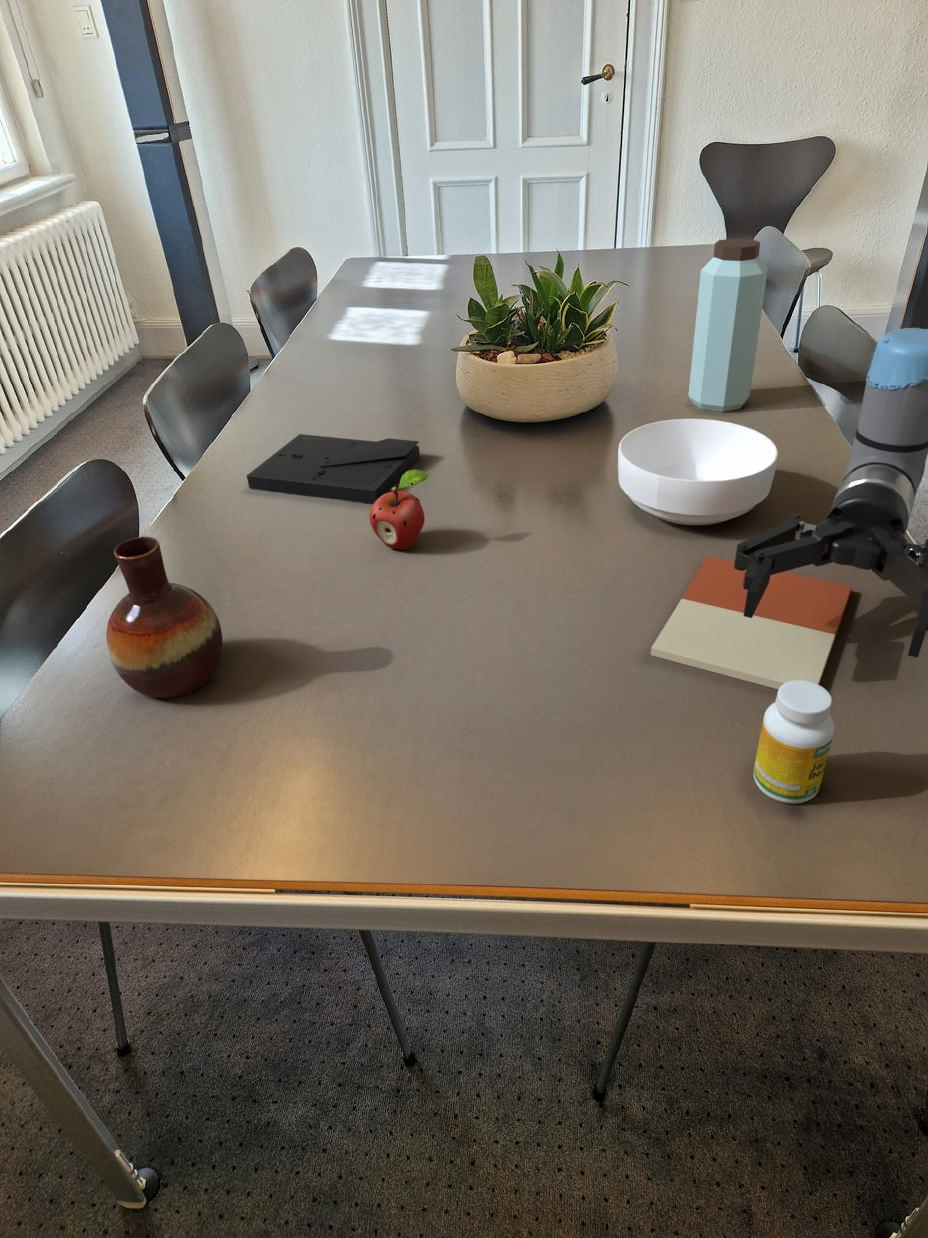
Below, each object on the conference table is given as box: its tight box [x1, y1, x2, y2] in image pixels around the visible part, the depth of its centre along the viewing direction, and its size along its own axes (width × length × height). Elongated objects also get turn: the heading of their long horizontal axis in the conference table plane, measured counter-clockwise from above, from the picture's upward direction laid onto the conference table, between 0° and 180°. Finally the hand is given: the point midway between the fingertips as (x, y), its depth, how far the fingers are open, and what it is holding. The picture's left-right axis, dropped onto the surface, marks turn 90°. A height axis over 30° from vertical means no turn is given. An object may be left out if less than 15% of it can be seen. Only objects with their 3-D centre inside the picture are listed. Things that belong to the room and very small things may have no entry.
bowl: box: [617, 418, 779, 526], centre depth 110 cm, size 20×20×8 cm
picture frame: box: [246, 433, 421, 505], centre depth 127 cm, size 16×3×21 cm
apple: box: [368, 468, 430, 550], centre depth 106 cm, size 8×7×10 cm
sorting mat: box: [650, 555, 853, 690], centre depth 90 cm, size 16×20×1 cm
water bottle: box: [688, 237, 769, 413], centre depth 135 cm, size 10×10×25 cm
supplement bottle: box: [752, 680, 835, 804], centre depth 69 cm, size 5×5×10 cm
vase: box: [105, 536, 224, 699], centre depth 84 cm, size 11×11×15 cm
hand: (829, 623), depth 73 cm, fingers open, 13 cm apart
